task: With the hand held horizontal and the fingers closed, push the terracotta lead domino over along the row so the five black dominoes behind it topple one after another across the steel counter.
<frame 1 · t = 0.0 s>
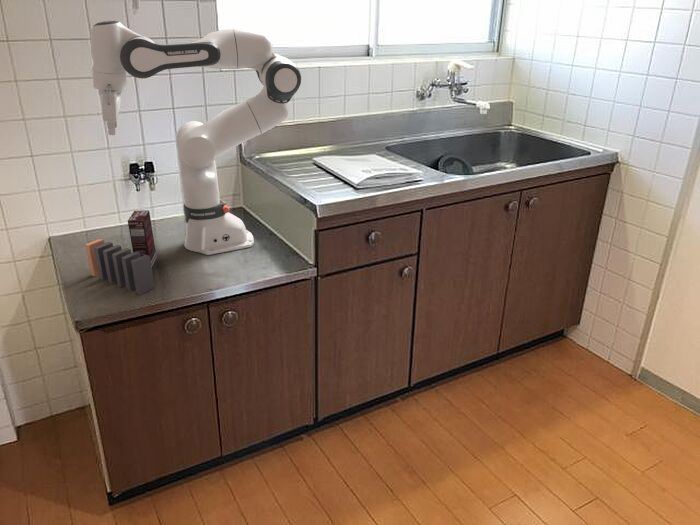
hand: (112, 131, 173), 39 cm above the countertop, tool pointing down, fingers open, 8 cm apart
domino 2: (109, 276, 175), on the countertop
supplement box: (146, 263, 183), on the countertop
domino 5: (136, 286, 169), on the countertop
domino 4: (126, 283, 171), on the countertop
domino 6: (145, 290, 167), on the countertop
domino 1: (100, 272, 177), on the countertop
domino 3: (117, 279, 173), on the countertop
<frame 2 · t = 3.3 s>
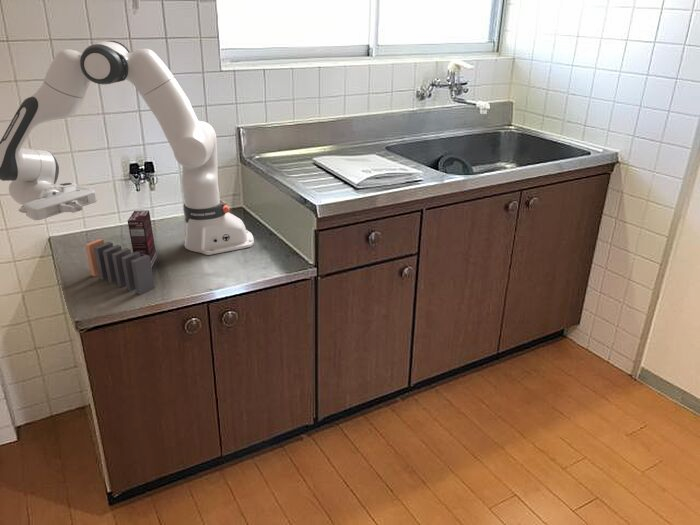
hand: (77, 208, 171), 19 cm above the countertop, tool horizontal, fingers closed
nothing on the countertop moved.
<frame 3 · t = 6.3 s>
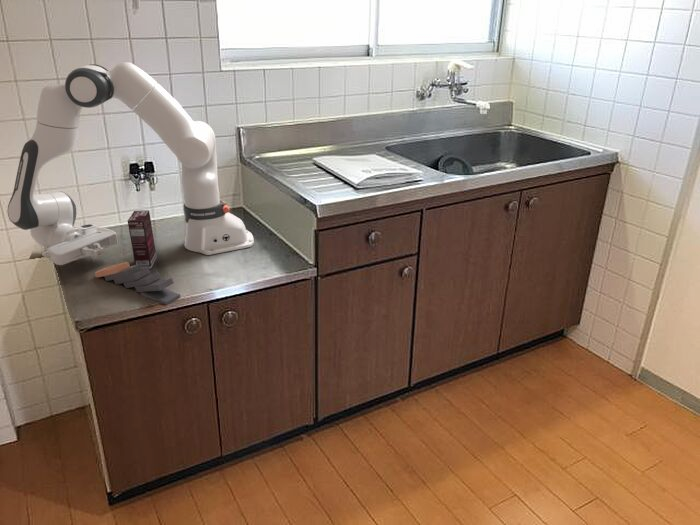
hand: (100, 252, 173), 7 cm above the countertop, tool horizontal, fingers closed
domino 2: (111, 275, 173), point 1 cm above the countertop, tilted 67°, touching domino 1, domino 3
domino 5: (142, 286, 167), point 1 cm above the countertop, tilted 72°, touching domino 4, domino 6
domino 4: (131, 282, 170), point 1 cm above the countertop, tilted 70°, touching domino 3, domino 5
domino 6: (148, 291, 166), on the countertop, tilted 90°, touching domino 5
domino 1: (102, 271, 175), point 1 cm above the countertop, tilted 67°, touching domino 2
domino 3: (121, 278, 172), point 1 cm above the countertop, tilted 67°, touching domino 2, domino 4
everything else where it was.
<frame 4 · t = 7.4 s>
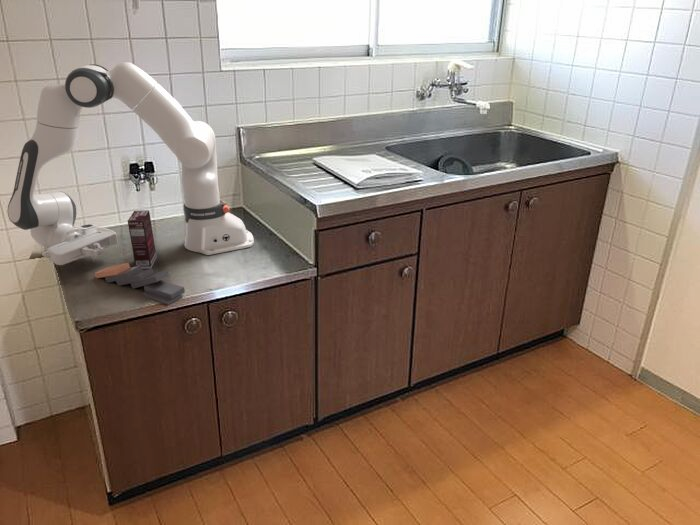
hand: (100, 252, 173), 7 cm above the countertop, tool horizontal, fingers closed
domino 2: (112, 276, 173), point 1 cm above the countertop, tilted 68°, touching domino 1, domino 3
domino 5: (150, 285, 167), point 2 cm above the countertop, tilted 90°
domino 4: (137, 282, 169), point 1 cm above the countertop, tilted 66°
domino 6: (150, 291, 166), on the countertop, tilted 90°
domino 3: (123, 279, 171), point 1 cm above the countertop, tilted 68°, touching domino 2
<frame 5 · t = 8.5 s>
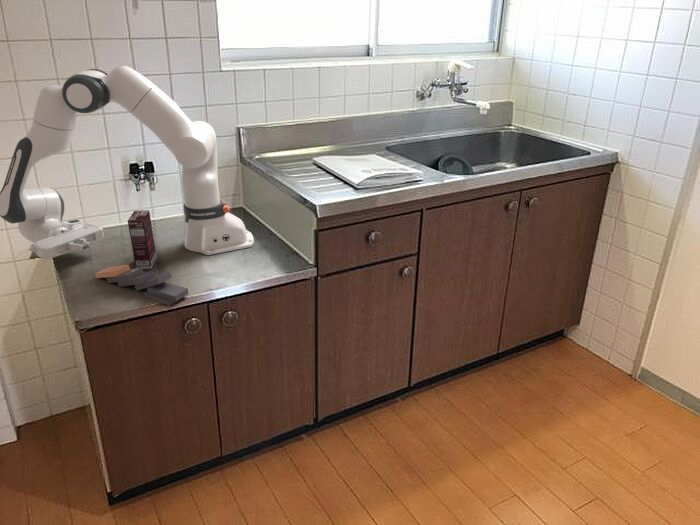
hand: (85, 247, 176), 7 cm above the countertop, tool horizontal, fingers closed
domino 2: (114, 277, 172), point 1 cm above the countertop, tilted 70°, touching domino 1, domino 3
domino 5: (154, 286, 165), point 2 cm above the countertop, tilted 90°, touching domino 4, domino 6
domino 4: (141, 284, 168), point 1 cm above the countertop, tilted 65°, touching domino 3, domino 5
domino 6: (151, 291, 166), on the countertop, tilted 90°, touching domino 5
domino 3: (125, 280, 171), point 1 cm above the countertop, tilted 70°, touching domino 2, domino 4
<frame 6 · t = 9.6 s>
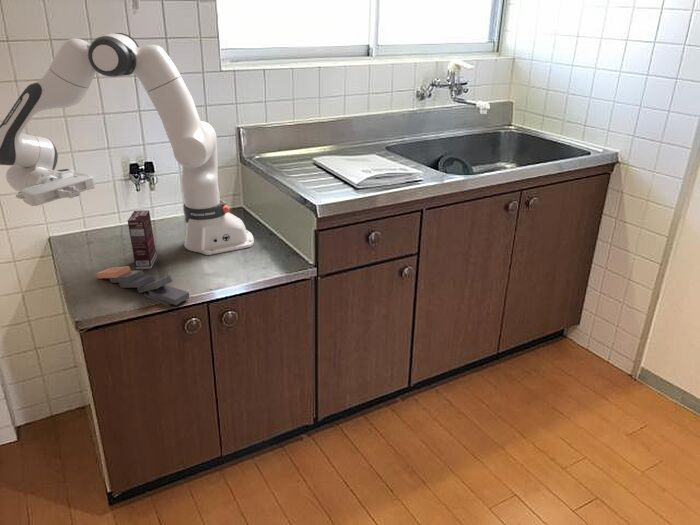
hand: (75, 194, 169), 24 cm above the countertop, tool horizontal, fingers closed
domino 2: (117, 277, 172), point 1 cm above the countertop, tilted 71°, touching domino 1, domino 3
domino 5: (156, 289, 164), point 1 cm above the countertop, tilted 89°, touching domino 6
domino 4: (145, 287, 167), point 1 cm above the countertop, tilted 64°, touching domino 3
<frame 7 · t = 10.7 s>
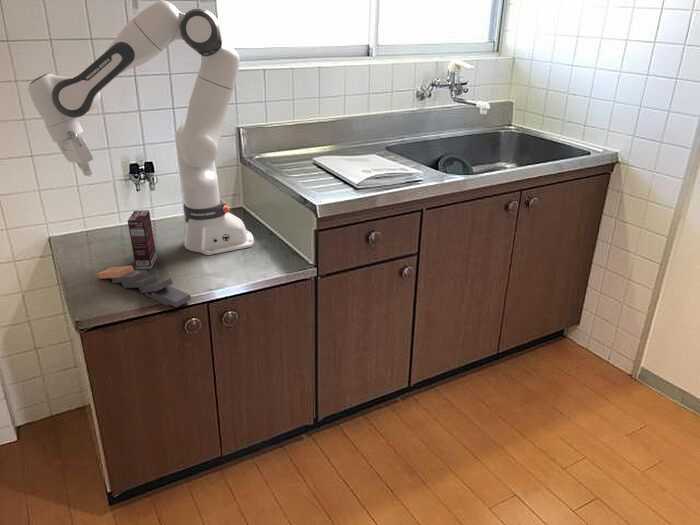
hand: (88, 175, 180), 25 cm above the countertop, tool tilted 20°, fingers closed
domino 5: (158, 290, 163), point 2 cm above the countertop, tilted 90°, touching domino 4, domino 6
domino 4: (148, 286, 167), point 1 cm above the countertop, tilted 66°, touching domino 3, domino 5, domino 6
domino 6: (153, 291, 166), on the countertop, tilted 90°, touching domino 4, domino 5
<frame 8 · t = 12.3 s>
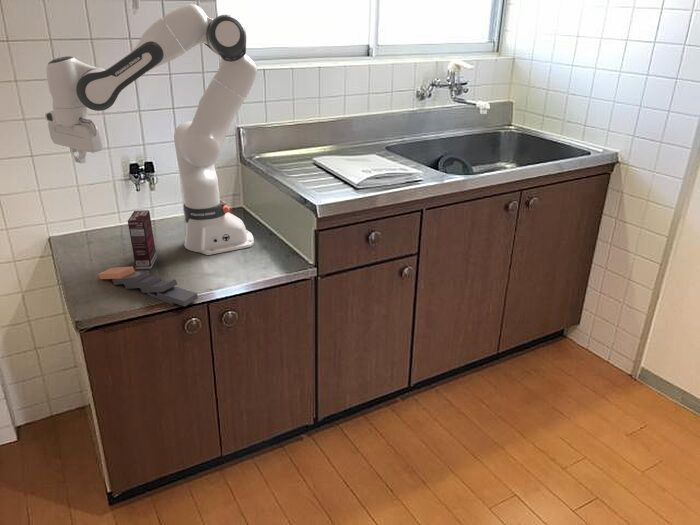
hand: (80, 162, 178), 29 cm above the countertop, tool pointing down, fingers closed
domino 2: (119, 278, 171), point 1 cm above the countertop, tilted 72°, touching domino 1, domino 3
domino 5: (164, 291, 163), point 2 cm above the countertop, tilted 89°, touching domino 4, domino 6
domino 4: (148, 286, 167), point 1 cm above the countertop, tilted 71°, touching domino 3, domino 5, domino 6
domino 3: (131, 282, 169), point 1 cm above the countertop, tilted 72°, touching domino 2, domino 4
at the end: domino 6 tilted 90°; domino 1 tilted 73° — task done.
